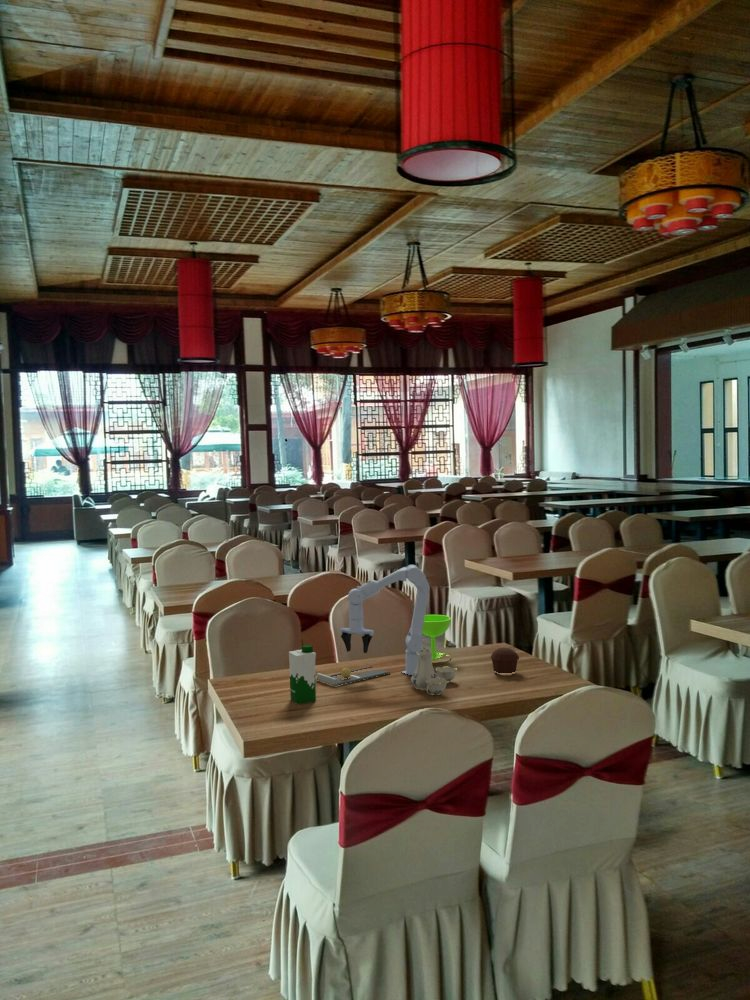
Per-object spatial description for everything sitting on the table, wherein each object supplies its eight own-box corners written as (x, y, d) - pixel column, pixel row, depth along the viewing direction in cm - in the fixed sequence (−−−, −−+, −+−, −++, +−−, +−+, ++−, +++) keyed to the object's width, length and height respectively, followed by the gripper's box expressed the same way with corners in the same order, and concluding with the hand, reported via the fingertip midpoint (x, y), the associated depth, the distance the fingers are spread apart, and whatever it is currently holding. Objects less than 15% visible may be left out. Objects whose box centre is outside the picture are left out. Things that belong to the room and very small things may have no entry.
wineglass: (409, 656, 360) (409, 616, 360) (443, 653, 365) (442, 613, 364) (422, 665, 345) (422, 623, 344) (457, 661, 350) (456, 620, 349)
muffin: (484, 673, 330) (484, 648, 330) (502, 668, 338) (501, 644, 337) (508, 678, 322) (507, 653, 321) (525, 673, 329) (525, 648, 329)
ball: (353, 677, 325) (352, 667, 325) (347, 679, 322) (347, 669, 322) (345, 675, 328) (344, 666, 327) (339, 678, 324) (338, 668, 324)
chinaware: (448, 703, 296) (452, 659, 294) (403, 697, 299) (407, 653, 298) (457, 682, 323) (460, 641, 322) (415, 677, 326) (419, 636, 325)
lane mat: (390, 674, 332) (389, 666, 331) (335, 687, 314) (334, 679, 314) (371, 668, 341) (371, 661, 341) (317, 681, 323) (316, 673, 323)
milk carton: (319, 701, 295) (318, 647, 294) (296, 705, 291) (294, 650, 290) (309, 695, 303) (308, 642, 302) (287, 699, 299) (285, 645, 298)
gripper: (376, 617, 329) (377, 651, 330) (344, 615, 336) (345, 648, 336) (369, 621, 323) (370, 655, 324) (336, 619, 329) (337, 652, 330)
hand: (357, 651), depth 330 cm, fingers open, 7 cm apart
